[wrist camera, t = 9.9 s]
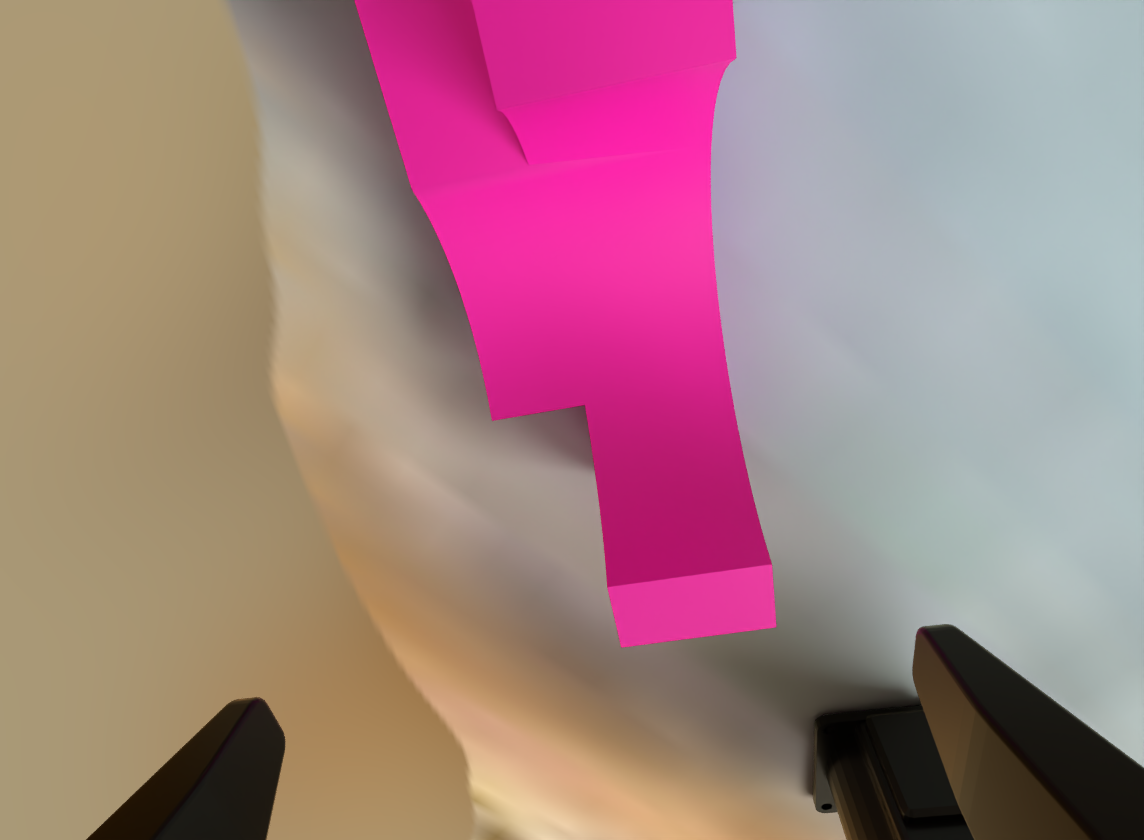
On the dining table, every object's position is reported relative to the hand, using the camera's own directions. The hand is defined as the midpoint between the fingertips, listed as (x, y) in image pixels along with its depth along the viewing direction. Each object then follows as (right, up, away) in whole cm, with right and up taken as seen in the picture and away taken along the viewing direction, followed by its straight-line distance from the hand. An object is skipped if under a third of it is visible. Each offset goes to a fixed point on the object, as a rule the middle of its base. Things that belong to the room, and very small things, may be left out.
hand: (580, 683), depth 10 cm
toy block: (0, +8, +10) cm, 13 cm away
